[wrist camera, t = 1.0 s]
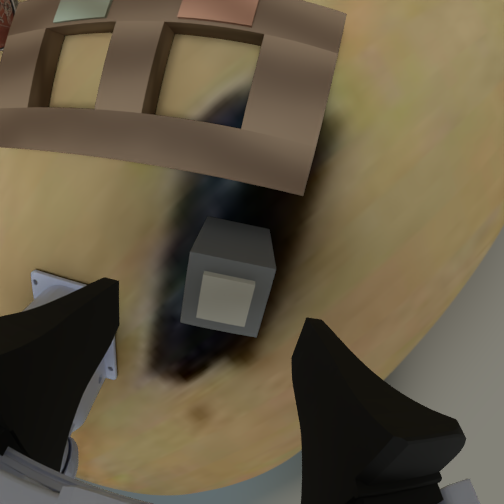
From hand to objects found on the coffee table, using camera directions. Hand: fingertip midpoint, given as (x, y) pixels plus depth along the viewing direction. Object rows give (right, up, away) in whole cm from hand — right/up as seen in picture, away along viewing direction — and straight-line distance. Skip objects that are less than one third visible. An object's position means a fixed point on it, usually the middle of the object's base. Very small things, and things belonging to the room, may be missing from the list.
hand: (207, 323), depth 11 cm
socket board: (-5, +14, +5) cm, 15 cm away
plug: (0, +3, +9) cm, 10 cm away
